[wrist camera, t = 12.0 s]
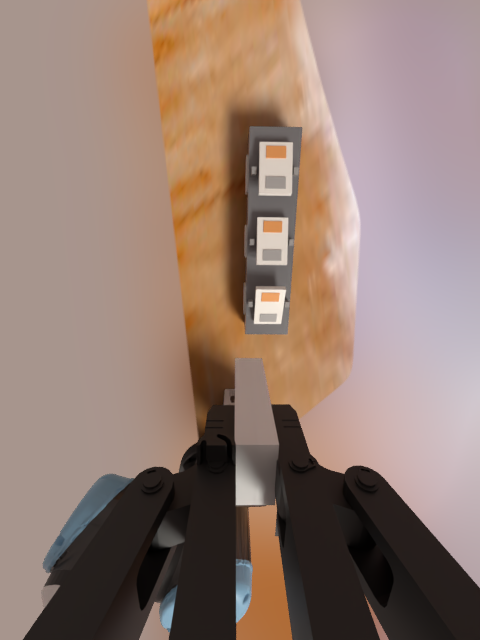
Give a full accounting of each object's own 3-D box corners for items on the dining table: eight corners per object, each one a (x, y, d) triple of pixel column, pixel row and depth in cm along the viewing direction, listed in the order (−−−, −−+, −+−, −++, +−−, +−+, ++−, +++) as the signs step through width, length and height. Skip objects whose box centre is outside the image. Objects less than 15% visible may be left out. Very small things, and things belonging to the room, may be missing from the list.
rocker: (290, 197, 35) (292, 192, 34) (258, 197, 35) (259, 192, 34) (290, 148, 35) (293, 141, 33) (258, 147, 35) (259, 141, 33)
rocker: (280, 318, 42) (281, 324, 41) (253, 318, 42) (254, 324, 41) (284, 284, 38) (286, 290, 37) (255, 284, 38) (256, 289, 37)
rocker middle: (285, 265, 38) (287, 264, 36) (256, 265, 38) (256, 264, 36) (286, 220, 37) (288, 217, 36) (256, 219, 37) (257, 216, 36)
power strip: (282, 323, 47) (289, 337, 41) (242, 323, 47) (243, 337, 41) (294, 139, 39) (304, 123, 33) (245, 138, 38) (247, 122, 32)
